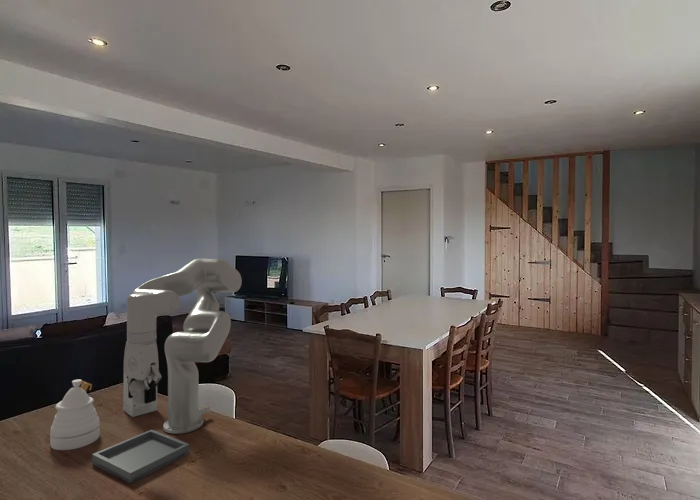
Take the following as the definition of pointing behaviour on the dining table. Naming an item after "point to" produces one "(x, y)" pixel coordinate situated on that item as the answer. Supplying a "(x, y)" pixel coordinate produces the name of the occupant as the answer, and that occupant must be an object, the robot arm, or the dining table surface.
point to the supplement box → (134, 407)
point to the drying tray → (140, 455)
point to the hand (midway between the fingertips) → (142, 398)
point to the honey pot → (74, 420)
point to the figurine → (85, 386)
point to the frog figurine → (137, 390)
